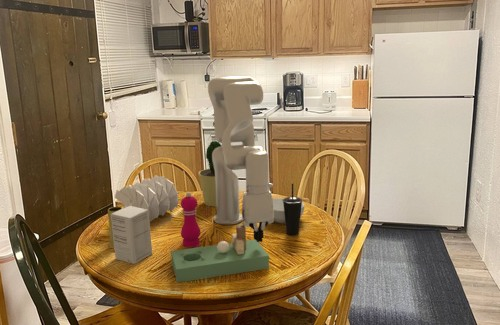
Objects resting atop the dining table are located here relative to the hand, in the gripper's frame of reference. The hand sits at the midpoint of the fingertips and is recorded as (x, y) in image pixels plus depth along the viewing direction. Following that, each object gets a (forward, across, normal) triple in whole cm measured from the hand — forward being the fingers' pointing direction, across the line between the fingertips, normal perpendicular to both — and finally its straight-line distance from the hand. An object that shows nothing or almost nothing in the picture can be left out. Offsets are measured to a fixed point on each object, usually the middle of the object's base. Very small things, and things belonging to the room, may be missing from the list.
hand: (258, 240), depth 158 cm
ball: (+1, +12, 0) cm, 12 cm away
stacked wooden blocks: (+2, +7, 0) cm, 7 cm away
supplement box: (+7, +41, -17) cm, 45 cm away
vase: (+7, +46, -29) cm, 55 cm away
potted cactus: (+7, +1, -65) cm, 65 cm away
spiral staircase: (+7, +32, -54) cm, 63 cm away
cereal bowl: (+7, -21, -33) cm, 40 cm away
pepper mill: (+7, +20, -21) cm, 30 cm away
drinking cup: (+7, -19, -18) cm, 27 cm away
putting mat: (+7, +14, 0) cm, 16 cm away
